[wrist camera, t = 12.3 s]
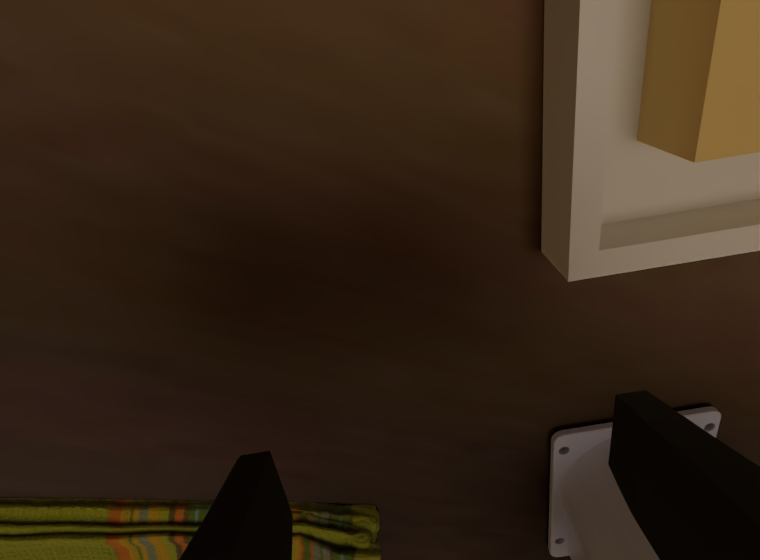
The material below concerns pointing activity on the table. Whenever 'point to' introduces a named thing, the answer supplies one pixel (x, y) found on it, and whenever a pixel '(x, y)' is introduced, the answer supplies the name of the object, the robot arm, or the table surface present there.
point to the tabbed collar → (702, 79)
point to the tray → (625, 158)
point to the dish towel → (166, 529)
